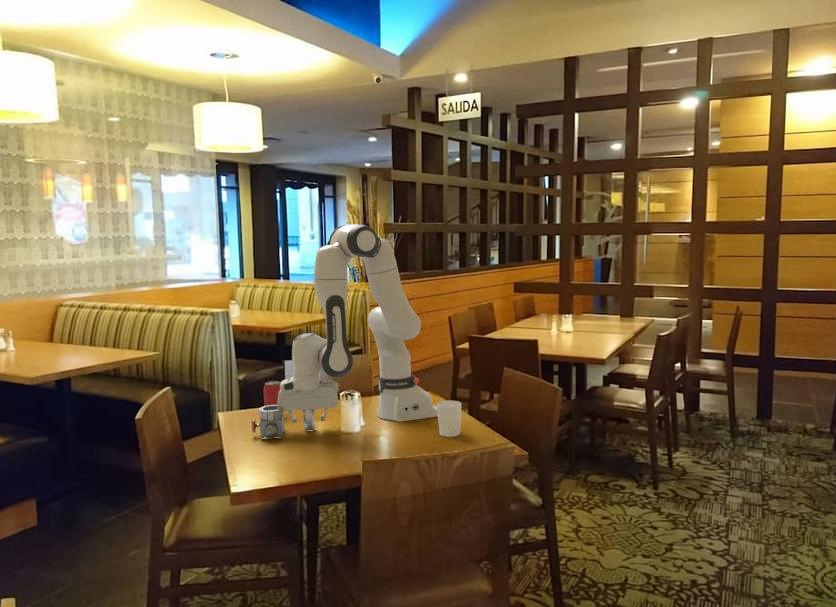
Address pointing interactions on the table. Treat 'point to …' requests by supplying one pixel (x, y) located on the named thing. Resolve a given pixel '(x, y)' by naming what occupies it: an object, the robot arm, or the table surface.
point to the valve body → (270, 421)
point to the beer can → (271, 392)
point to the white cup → (449, 418)
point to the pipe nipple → (309, 419)
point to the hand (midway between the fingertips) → (308, 421)
